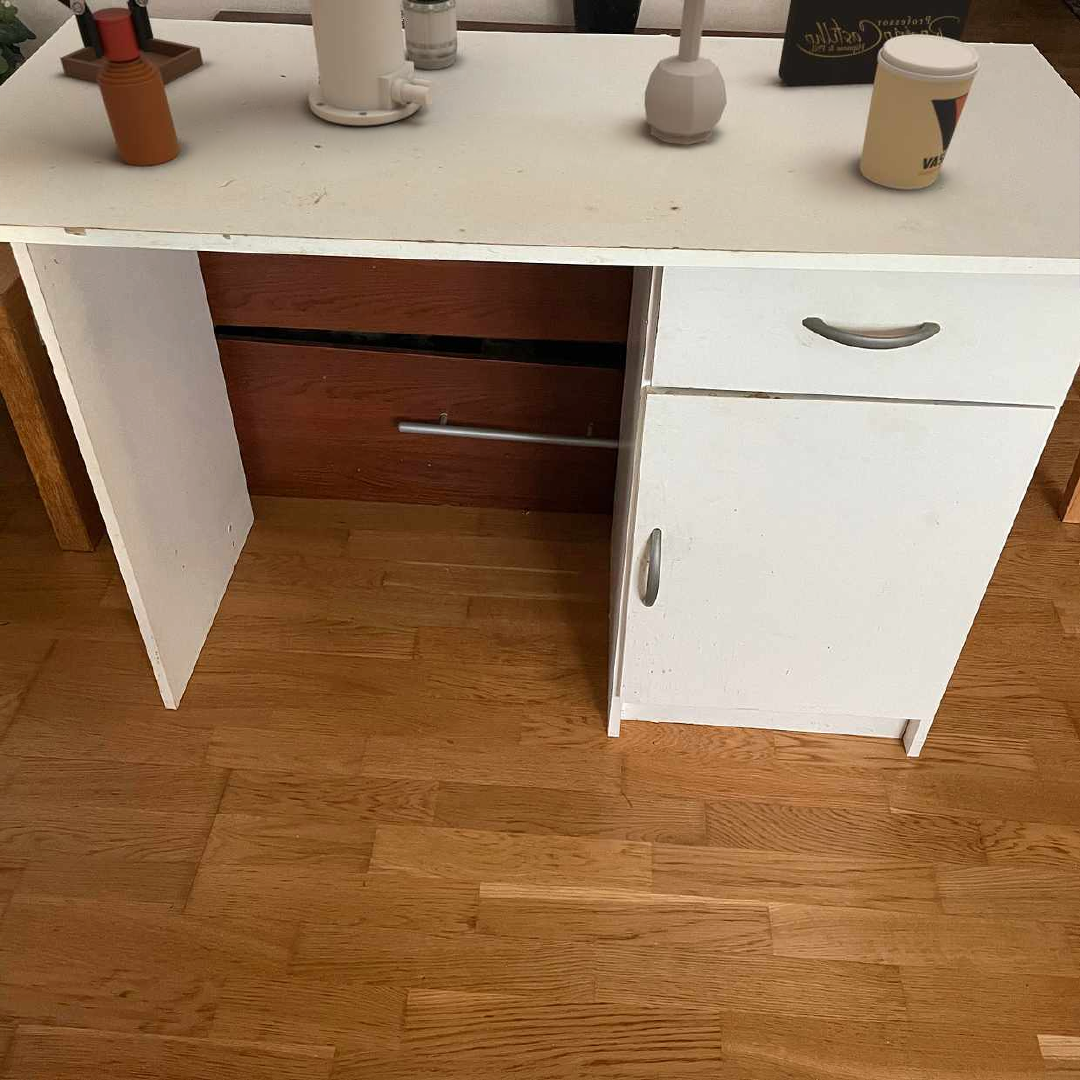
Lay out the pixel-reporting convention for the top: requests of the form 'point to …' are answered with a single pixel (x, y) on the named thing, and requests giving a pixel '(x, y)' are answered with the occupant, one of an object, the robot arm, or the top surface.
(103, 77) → the bottle
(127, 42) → the cap
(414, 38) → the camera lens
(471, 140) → the top surface
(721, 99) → the potion bottle
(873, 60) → the nameplate
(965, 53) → the coffee cup
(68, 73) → the tray
